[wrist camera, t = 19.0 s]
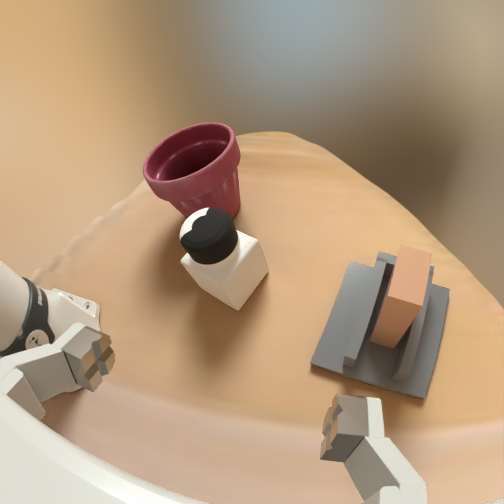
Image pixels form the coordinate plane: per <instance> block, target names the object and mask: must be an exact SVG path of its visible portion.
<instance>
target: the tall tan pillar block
mask: <svg viewBox="0 0 504 504" xmlns="http://www.w3.org/2000/svg"><path fill="white" fill-rule="evenodd" d="M431 257H432V254H431V253H427V252H424V251H420V250H417V249H414V248H410V247H406V246H403V245H400V248H399V251H398V255H397V258H396V261H395V265H394V268H393V271H392V274H391V278H390V281H389V284H388V287H387V290H386V293H385V296H384V298H383V301H382V304H381V308H380V311H379V314H378V317H377V320H376V323H375V327H374V330H373V333H372V335H371V338H370V342H373V343H377V344H380V345H383V346H386V347H390V348H393V349H394V347H395V346H396V344H397V343H398V342H399V340H400V339H401V337H402V336H403V335H404V333H405V332H406V330H407V329H408V327H409V326H410V324H411V323H412V321H413V320H414V318H415V317H416V315H417V314H418V312H419V311H420V309H421V307H422V306H423V301H424V296H425V291H426V286H427V281H428V275H429V270H430V263H431Z"/></svg>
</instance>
